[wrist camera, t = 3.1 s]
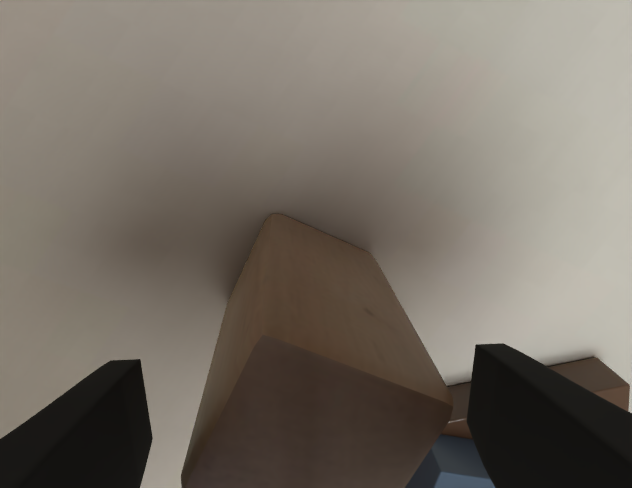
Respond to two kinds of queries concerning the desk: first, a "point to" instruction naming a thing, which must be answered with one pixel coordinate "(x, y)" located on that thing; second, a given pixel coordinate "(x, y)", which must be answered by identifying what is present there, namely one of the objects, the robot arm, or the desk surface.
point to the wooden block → (314, 374)
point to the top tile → (451, 466)
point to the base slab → (581, 372)
